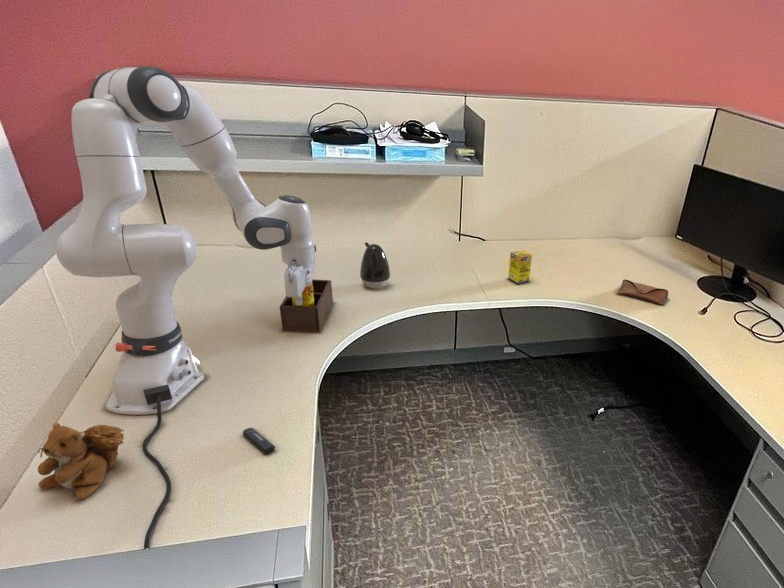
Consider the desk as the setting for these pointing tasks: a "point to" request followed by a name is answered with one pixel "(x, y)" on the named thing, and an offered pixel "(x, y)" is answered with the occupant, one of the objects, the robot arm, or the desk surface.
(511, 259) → the supplement box
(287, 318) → the box
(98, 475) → the stuffed squirrel
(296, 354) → the desk surface
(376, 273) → the black egg-shaped figure
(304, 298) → the beer can
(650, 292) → the sunglasses case
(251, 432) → the usb stick
